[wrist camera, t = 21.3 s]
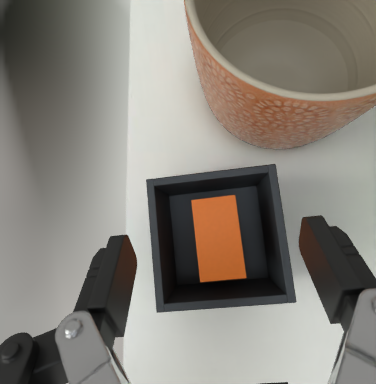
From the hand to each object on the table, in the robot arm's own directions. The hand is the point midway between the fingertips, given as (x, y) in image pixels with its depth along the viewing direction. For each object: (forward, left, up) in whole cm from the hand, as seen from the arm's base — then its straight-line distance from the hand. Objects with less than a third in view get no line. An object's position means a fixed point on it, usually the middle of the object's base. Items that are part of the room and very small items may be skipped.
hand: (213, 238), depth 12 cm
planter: (+10, +19, -25) cm, 33 cm away
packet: (0, 0, -24) cm, 24 cm away
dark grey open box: (0, 0, -25) cm, 25 cm away
